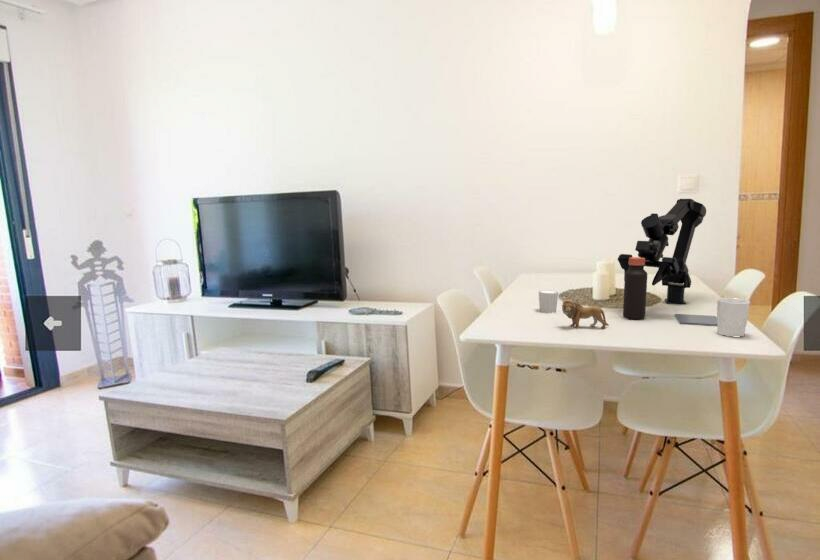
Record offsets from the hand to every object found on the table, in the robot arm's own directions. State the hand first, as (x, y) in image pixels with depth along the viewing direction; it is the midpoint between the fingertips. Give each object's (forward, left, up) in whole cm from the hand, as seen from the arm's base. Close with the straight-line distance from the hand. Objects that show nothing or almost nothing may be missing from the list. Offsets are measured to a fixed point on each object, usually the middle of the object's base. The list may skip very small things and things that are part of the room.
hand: (638, 283), depth 168 cm
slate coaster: (+1, +18, -11) cm, 21 cm away
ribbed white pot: (-1, -29, -12) cm, 31 cm away
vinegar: (+2, -1, -12) cm, 12 cm away
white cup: (+16, +24, -12) cm, 31 cm away
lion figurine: (+20, -16, -12) cm, 28 cm away
